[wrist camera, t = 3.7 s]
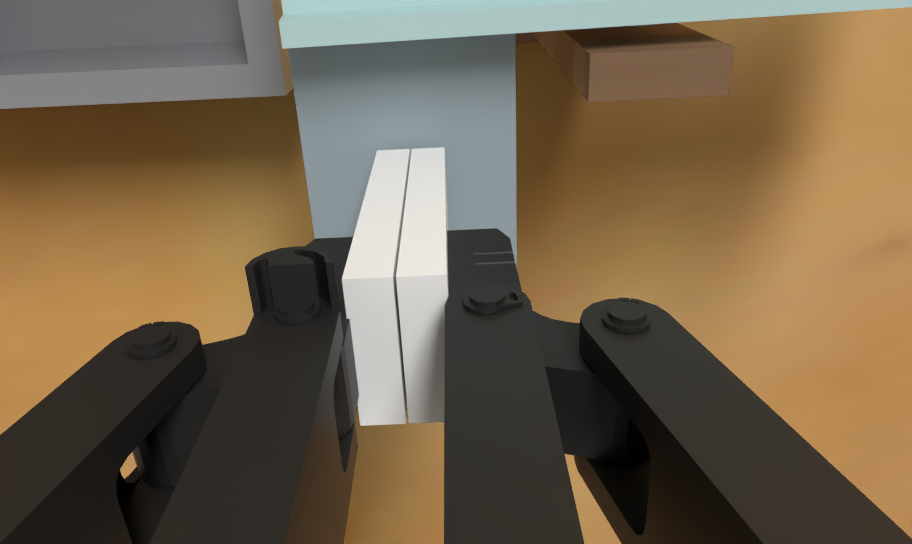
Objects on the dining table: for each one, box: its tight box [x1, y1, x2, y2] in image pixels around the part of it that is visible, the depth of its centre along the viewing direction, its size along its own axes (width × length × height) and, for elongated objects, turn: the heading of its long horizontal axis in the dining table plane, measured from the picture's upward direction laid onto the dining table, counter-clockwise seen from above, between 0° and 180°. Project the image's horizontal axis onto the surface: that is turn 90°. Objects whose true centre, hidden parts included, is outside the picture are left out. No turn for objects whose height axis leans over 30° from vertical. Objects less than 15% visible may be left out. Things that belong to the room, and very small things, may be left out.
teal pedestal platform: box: [279, 0, 912, 268], centre depth 16 cm, size 15×20×2 cm
